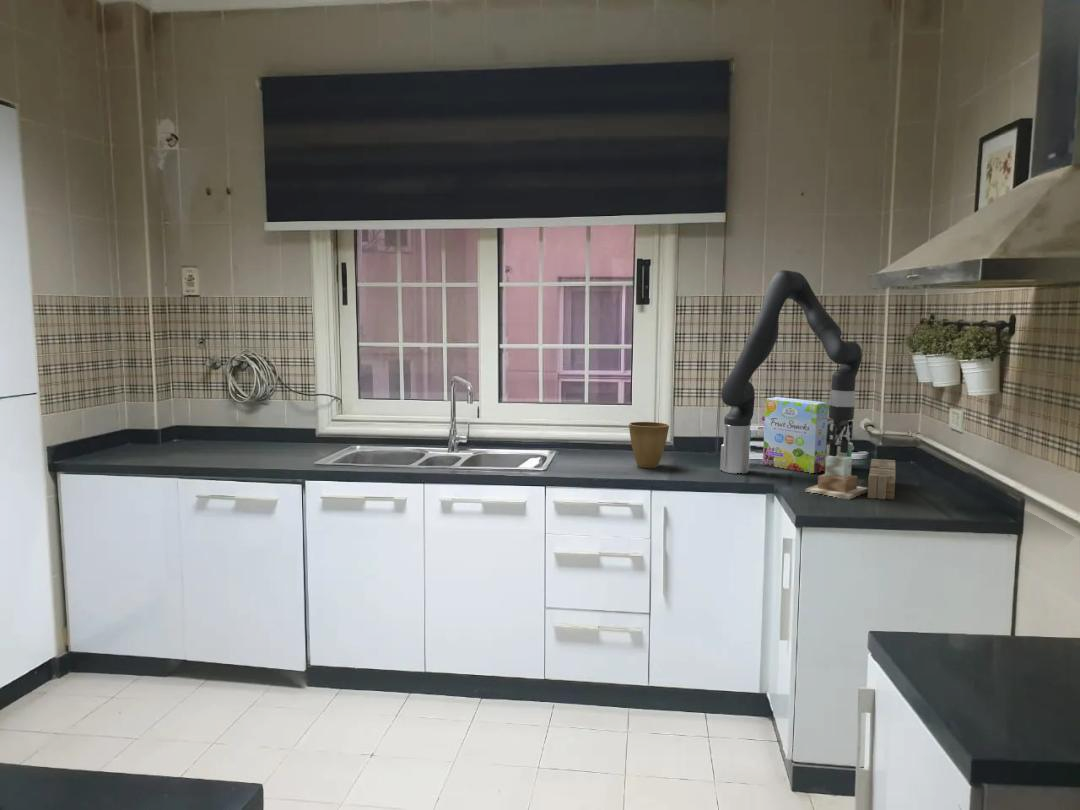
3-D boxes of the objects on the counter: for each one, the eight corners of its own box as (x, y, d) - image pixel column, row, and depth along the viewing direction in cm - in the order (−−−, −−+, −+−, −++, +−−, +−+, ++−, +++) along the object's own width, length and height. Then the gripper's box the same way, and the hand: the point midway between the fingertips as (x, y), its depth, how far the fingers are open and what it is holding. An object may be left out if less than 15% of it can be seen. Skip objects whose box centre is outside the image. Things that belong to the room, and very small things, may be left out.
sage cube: (824, 475, 253) (825, 457, 252) (832, 472, 257) (833, 454, 256) (843, 478, 249) (844, 459, 248) (850, 475, 253) (852, 457, 252)
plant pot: (668, 470, 285) (669, 427, 283) (626, 469, 287) (627, 425, 285) (667, 463, 299) (669, 421, 297) (628, 461, 302) (629, 420, 300)
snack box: (760, 465, 297) (763, 398, 294) (773, 462, 303) (776, 396, 300) (813, 474, 281) (817, 403, 278) (826, 471, 287) (829, 401, 284)
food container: (860, 471, 288) (862, 444, 287) (847, 472, 286) (848, 445, 284) (836, 465, 299) (837, 439, 298) (823, 466, 297) (824, 440, 296)
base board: (805, 492, 252) (806, 475, 252) (826, 484, 264) (827, 469, 263) (848, 499, 243) (849, 482, 242) (868, 491, 254) (869, 475, 254)
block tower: (893, 504, 243) (895, 482, 269) (895, 477, 242) (896, 458, 268) (866, 501, 246) (870, 480, 272) (868, 474, 245) (871, 456, 271)
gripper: (839, 401, 258) (836, 450, 260) (820, 404, 247) (817, 455, 249) (862, 403, 252) (859, 453, 255) (844, 407, 242) (840, 458, 244)
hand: (838, 454), depth 252 cm, fingers open, 8 cm apart
